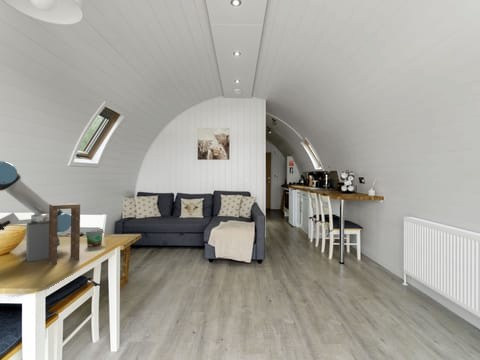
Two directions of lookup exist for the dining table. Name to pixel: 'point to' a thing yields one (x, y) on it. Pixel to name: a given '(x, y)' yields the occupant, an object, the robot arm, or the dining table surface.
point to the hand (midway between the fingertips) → (16, 216)
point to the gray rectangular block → (37, 241)
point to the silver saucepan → (33, 219)
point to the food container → (94, 238)
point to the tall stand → (54, 228)
